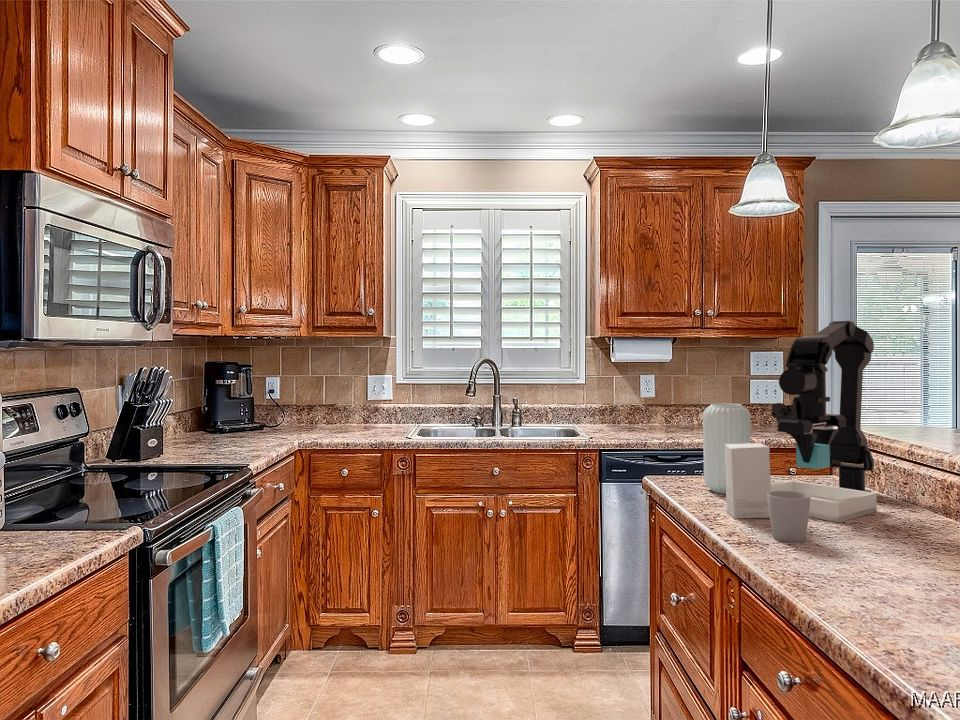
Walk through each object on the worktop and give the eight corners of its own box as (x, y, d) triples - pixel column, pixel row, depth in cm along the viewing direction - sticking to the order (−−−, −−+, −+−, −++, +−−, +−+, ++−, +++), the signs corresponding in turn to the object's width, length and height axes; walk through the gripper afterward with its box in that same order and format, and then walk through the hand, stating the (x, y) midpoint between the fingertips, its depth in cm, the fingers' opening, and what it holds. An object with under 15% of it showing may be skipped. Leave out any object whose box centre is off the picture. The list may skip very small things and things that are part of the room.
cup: (767, 542, 129) (767, 497, 129) (767, 529, 138) (766, 487, 138) (812, 545, 126) (811, 499, 126) (809, 532, 135) (808, 489, 135)
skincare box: (763, 512, 153) (762, 442, 152) (773, 519, 146) (772, 446, 146) (724, 512, 153) (723, 442, 153) (732, 519, 147) (731, 447, 147)
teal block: (808, 464, 158) (808, 442, 158) (829, 466, 154) (829, 444, 154) (796, 466, 156) (796, 444, 156) (817, 469, 151) (817, 446, 151)
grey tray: (791, 496, 168) (791, 480, 168) (876, 511, 151) (876, 493, 151) (752, 505, 159) (752, 488, 159) (838, 522, 142) (838, 503, 142)
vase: (745, 486, 181) (744, 402, 181) (756, 495, 170) (755, 406, 169) (700, 486, 183) (699, 403, 182) (708, 495, 171) (707, 406, 171)
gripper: (800, 389, 167) (801, 453, 167) (755, 393, 156) (756, 461, 156) (846, 390, 157) (848, 458, 158) (801, 395, 147) (802, 467, 147)
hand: (812, 461), depth 155 cm, fingers closed on teal block, 5 cm apart
